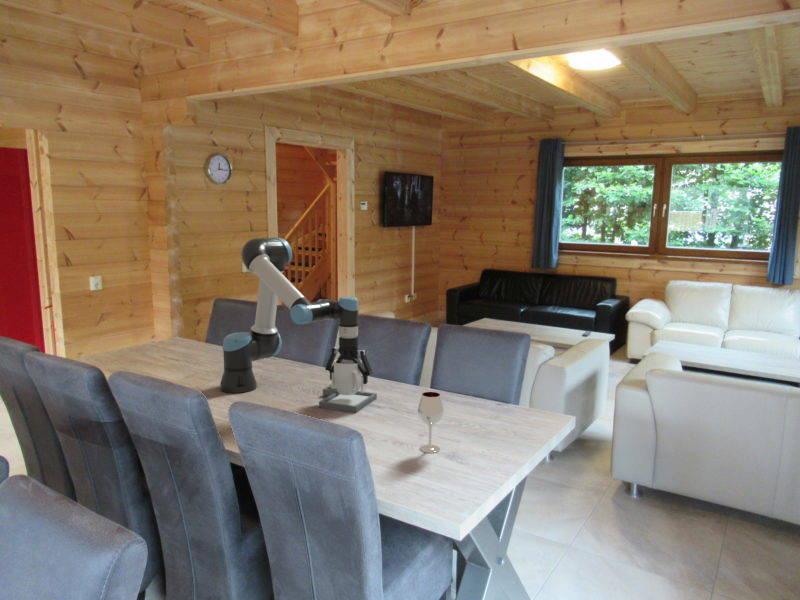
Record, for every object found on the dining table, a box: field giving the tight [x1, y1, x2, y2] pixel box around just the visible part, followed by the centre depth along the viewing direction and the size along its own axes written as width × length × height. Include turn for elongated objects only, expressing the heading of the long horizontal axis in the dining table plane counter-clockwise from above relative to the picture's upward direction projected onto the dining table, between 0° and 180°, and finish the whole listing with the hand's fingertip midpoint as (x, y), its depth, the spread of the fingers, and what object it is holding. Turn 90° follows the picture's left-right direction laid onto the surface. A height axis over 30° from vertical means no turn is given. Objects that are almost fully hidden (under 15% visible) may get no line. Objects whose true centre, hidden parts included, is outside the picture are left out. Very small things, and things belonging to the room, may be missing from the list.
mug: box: [333, 358, 363, 395], centre depth 230 cm, size 15×11×13 cm
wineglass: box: [417, 391, 445, 454], centre depth 185 cm, size 8×8×18 cm
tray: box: [318, 390, 378, 413], centre depth 232 cm, size 16×19×2 cm
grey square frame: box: [322, 385, 340, 398], centre depth 242 cm, size 7×7×3 cm
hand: (348, 389), depth 231 cm, fingers closed on mug, 12 cm apart
